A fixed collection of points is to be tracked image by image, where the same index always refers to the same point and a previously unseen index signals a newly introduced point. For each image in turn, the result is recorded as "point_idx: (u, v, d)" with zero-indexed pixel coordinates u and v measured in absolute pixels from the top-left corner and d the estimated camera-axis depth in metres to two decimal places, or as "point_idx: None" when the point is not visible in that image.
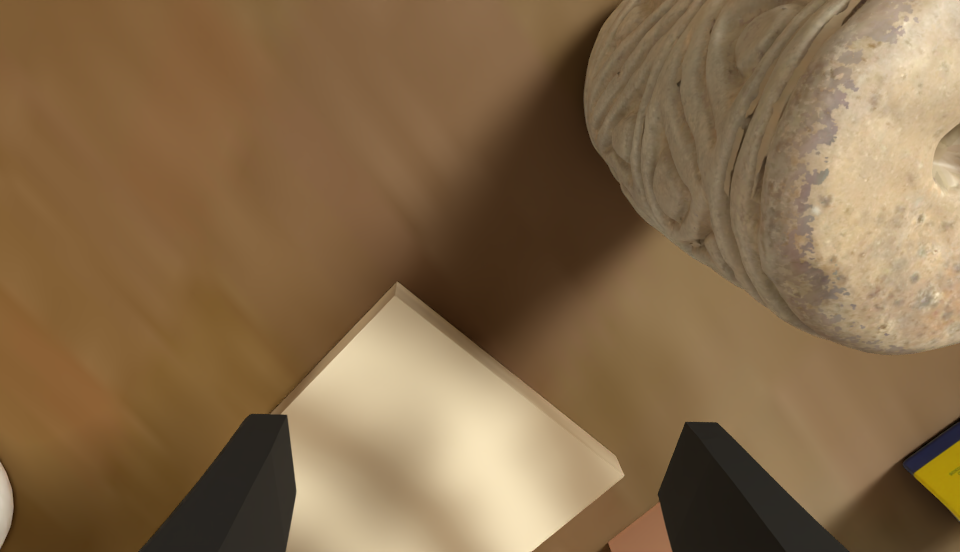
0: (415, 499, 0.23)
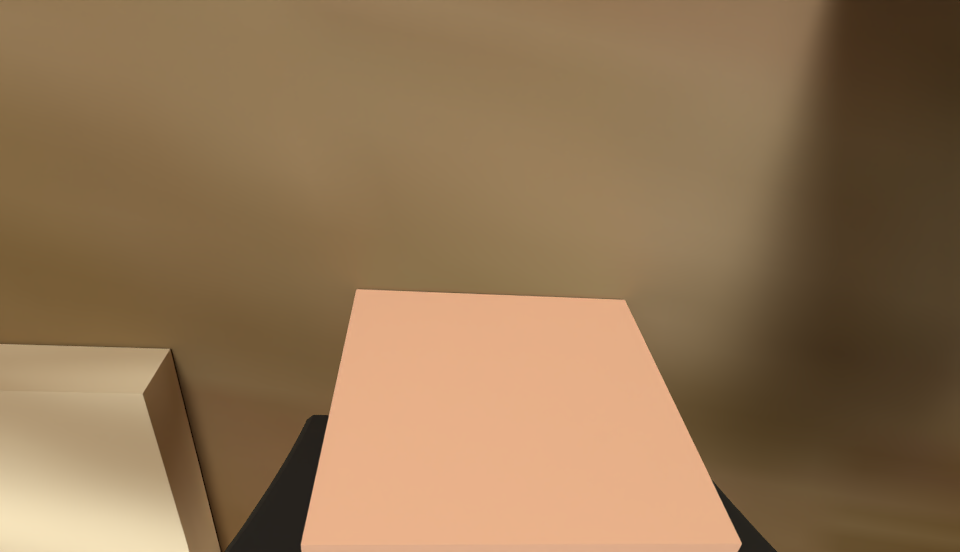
0: None
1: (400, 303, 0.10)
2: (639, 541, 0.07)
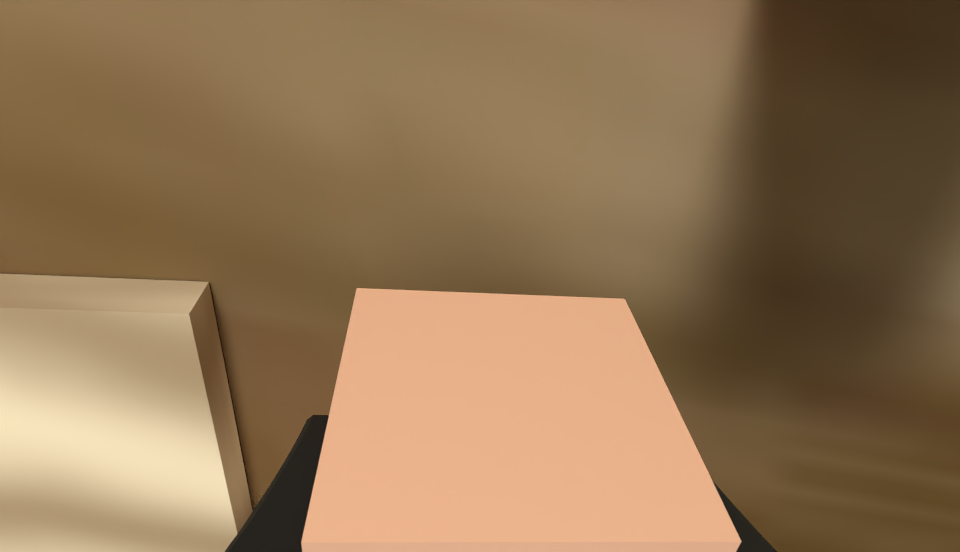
0: None
1: (400, 302, 0.10)
2: (639, 539, 0.07)
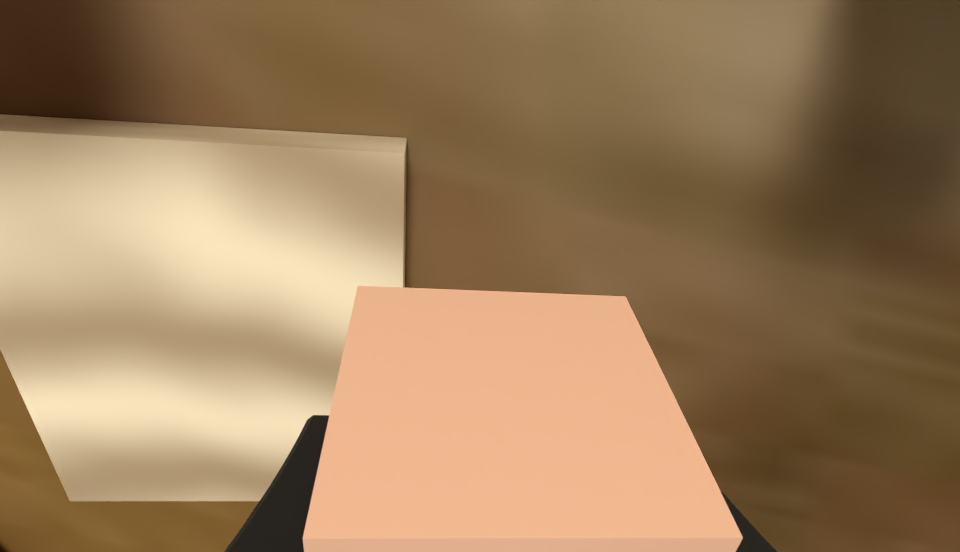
0: (216, 338, 0.18)
1: (401, 299, 0.10)
2: (640, 534, 0.07)
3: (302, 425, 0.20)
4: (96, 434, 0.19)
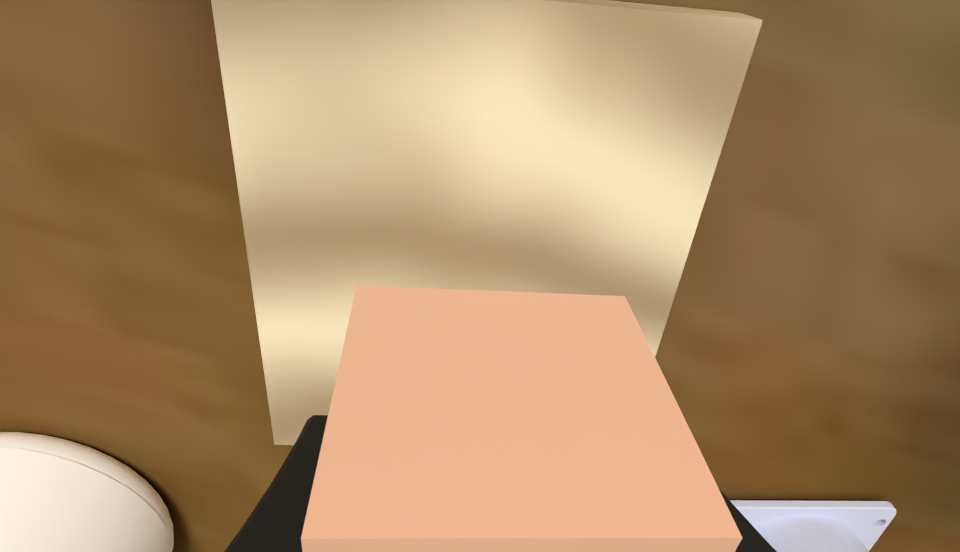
0: (487, 250, 0.16)
1: (400, 299, 0.10)
2: (640, 535, 0.07)
3: None
4: (324, 365, 0.17)
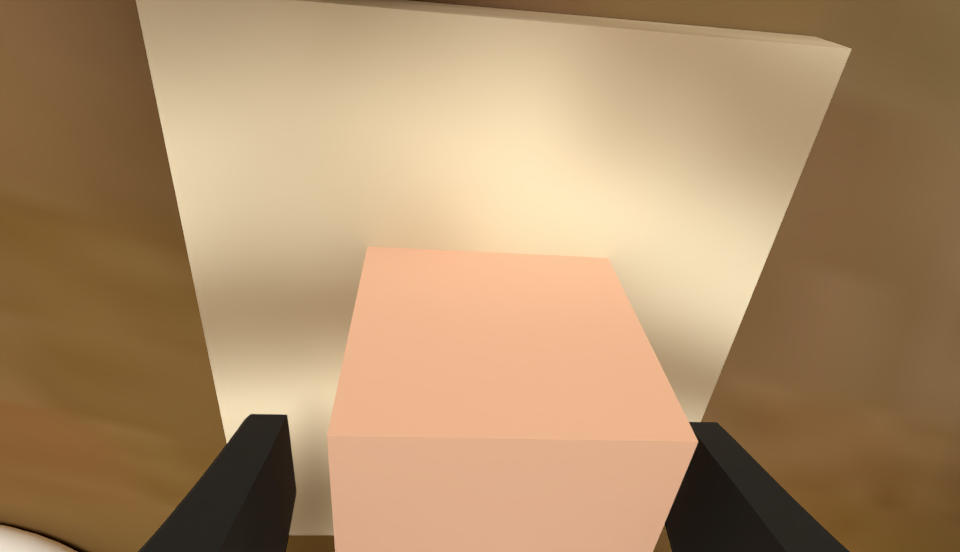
0: None
1: (406, 258, 0.11)
2: (611, 438, 0.08)
3: None
4: (302, 451, 0.15)
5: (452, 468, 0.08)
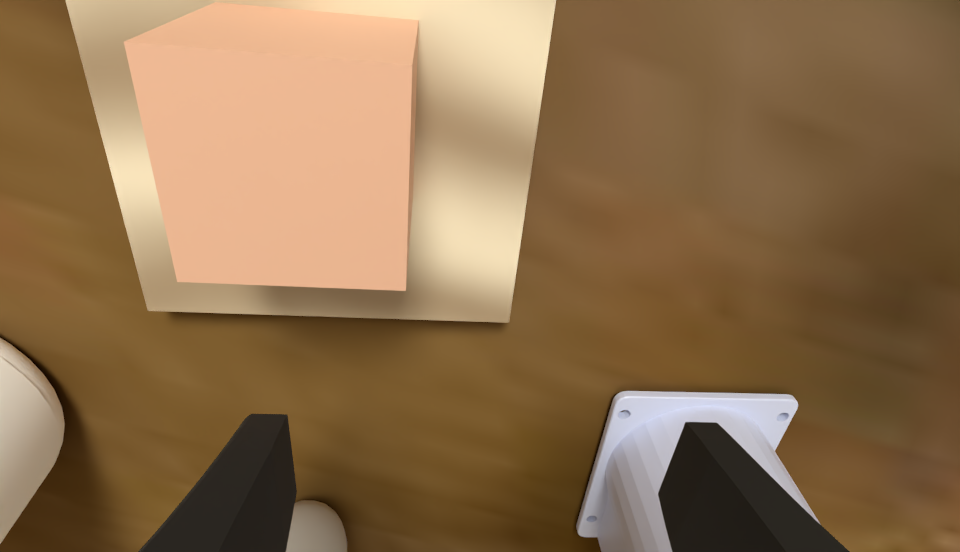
0: None
1: (245, 7, 0.14)
2: (345, 58, 0.10)
3: (416, 213, 0.18)
4: None
5: (226, 83, 0.11)
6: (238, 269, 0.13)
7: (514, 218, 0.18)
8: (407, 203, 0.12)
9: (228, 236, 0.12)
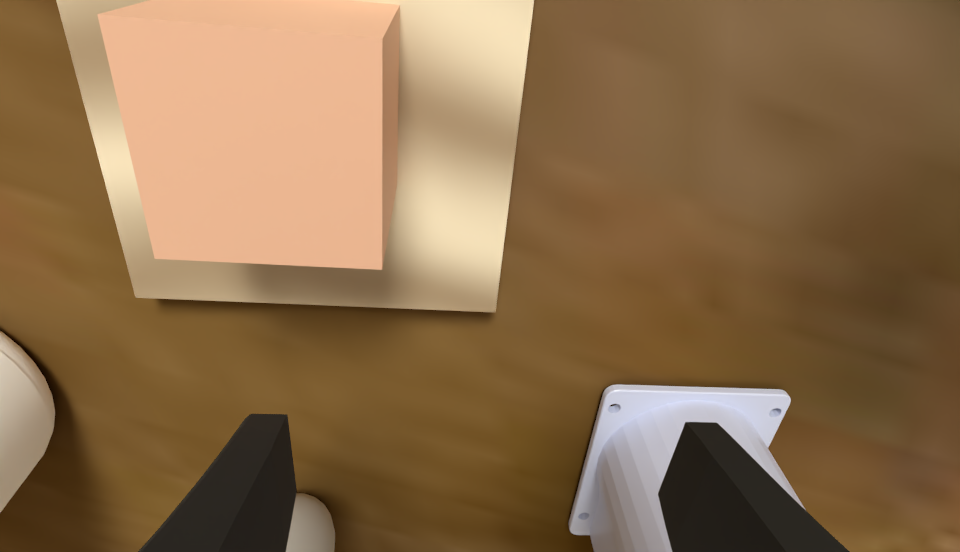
0: None
1: None
2: (315, 32, 0.11)
3: (400, 200, 0.18)
4: None
5: (199, 57, 0.11)
6: (215, 246, 0.13)
7: (498, 206, 0.18)
8: (381, 180, 0.12)
9: (204, 212, 0.12)
